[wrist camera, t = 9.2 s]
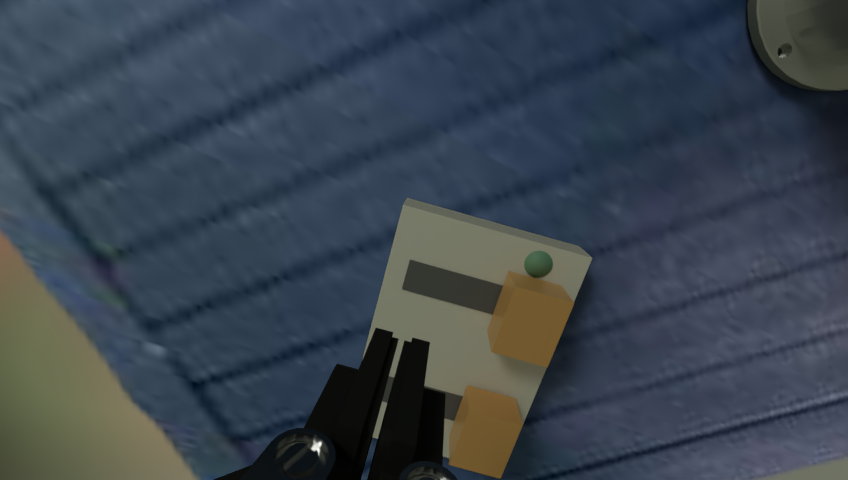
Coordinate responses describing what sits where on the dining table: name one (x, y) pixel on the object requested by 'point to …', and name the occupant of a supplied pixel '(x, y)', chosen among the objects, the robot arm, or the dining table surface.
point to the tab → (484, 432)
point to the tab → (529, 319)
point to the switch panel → (464, 300)
